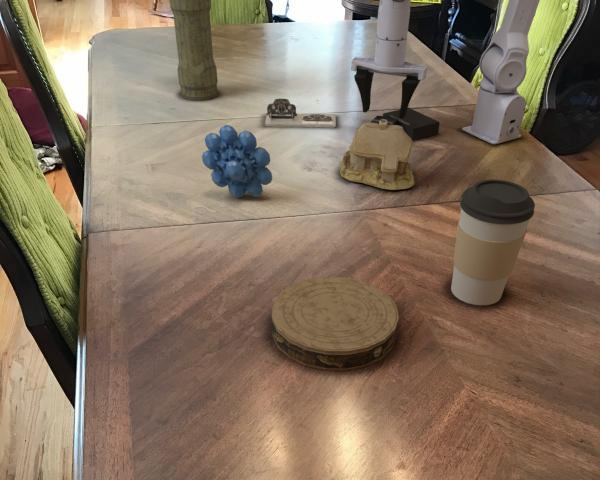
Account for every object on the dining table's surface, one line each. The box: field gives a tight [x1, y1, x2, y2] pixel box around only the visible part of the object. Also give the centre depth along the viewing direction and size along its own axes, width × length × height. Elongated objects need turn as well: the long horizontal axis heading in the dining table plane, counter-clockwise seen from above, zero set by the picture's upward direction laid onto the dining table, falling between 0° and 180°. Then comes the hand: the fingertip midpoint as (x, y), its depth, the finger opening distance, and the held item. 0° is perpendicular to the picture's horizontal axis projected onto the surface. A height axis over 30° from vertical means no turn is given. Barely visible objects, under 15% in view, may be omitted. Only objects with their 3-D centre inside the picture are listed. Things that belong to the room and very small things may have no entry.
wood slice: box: [271, 276, 400, 372], centre depth 78 cm, size 16×16×3 cm
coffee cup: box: [450, 178, 536, 306], centre depth 80 cm, size 9×9×15 cm
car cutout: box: [264, 98, 337, 128], centre depth 131 cm, size 15×7×4 cm, turn 88°
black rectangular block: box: [369, 115, 398, 125], centre depth 125 cm, size 4×6×3 cm
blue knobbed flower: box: [201, 124, 273, 199], centre depth 101 cm, size 12×7×12 cm, turn 85°
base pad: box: [382, 107, 441, 142], centre depth 128 cm, size 10×7×3 cm
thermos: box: [169, 0, 219, 102], centre depth 132 cm, size 9×12×35 cm
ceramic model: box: [338, 119, 415, 191], centre depth 109 cm, size 14×11×10 cm
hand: (384, 113), depth 123 cm, fingers open, 7 cm apart
